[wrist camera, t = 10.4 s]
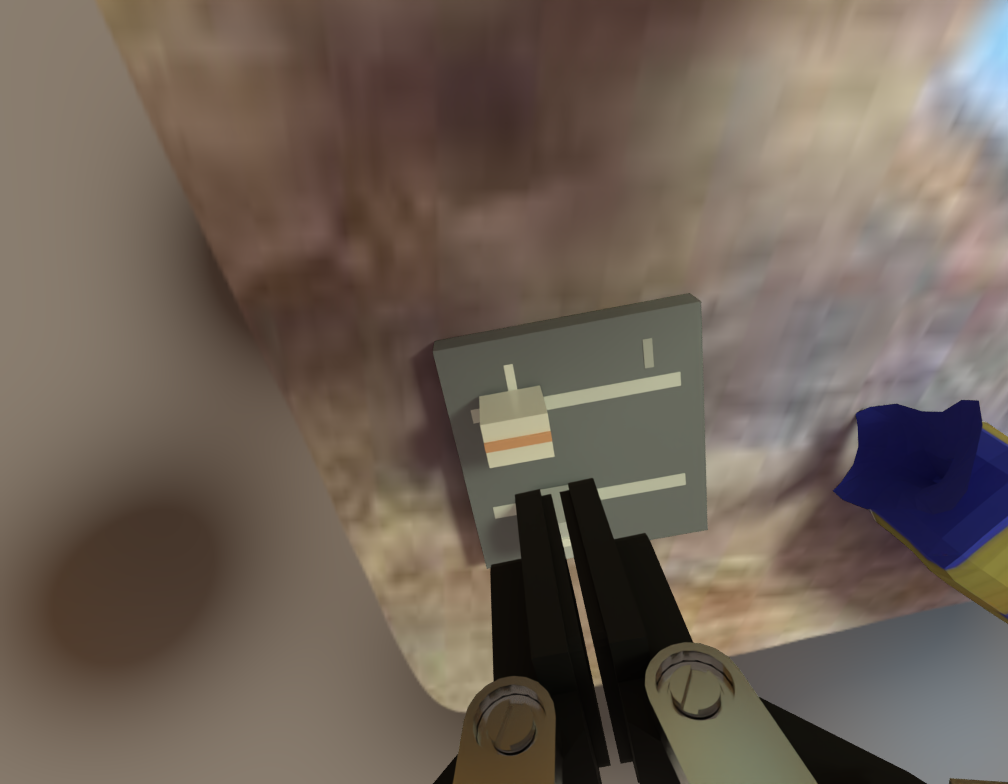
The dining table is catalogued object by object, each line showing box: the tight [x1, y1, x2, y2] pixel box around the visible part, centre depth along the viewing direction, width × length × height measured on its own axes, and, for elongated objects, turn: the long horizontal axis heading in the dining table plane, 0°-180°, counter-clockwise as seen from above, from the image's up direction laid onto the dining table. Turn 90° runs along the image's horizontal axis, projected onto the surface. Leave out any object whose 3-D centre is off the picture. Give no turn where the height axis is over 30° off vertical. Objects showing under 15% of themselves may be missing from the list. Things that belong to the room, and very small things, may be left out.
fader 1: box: [479, 385, 555, 468], centre depth 34 cm, size 4×3×4 cm
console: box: [433, 293, 708, 569], centre depth 39 cm, size 17×18×2 cm
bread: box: [833, 400, 1008, 624], centre depth 39 cm, size 10×25×10 cm, turn 56°
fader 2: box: [540, 485, 574, 559], centre depth 38 cm, size 4×3×4 cm
